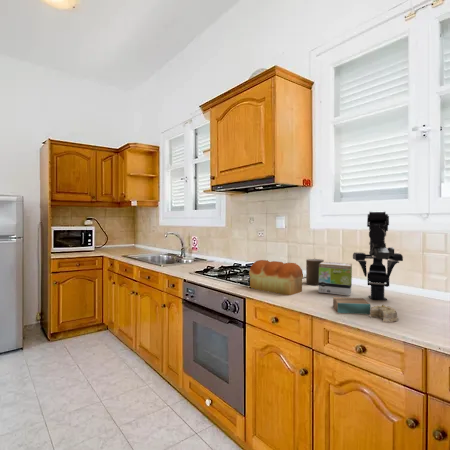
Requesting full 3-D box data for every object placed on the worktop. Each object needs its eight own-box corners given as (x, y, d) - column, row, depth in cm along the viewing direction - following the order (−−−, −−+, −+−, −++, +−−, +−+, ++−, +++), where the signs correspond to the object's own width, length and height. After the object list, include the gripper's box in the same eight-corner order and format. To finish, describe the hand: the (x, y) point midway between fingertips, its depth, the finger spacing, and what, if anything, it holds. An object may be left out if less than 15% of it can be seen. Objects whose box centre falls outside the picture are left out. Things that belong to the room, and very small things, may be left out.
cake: (379, 313, 125) (380, 299, 125) (404, 320, 116) (404, 305, 116) (362, 317, 120) (362, 302, 120) (387, 324, 111) (387, 309, 111)
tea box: (318, 293, 159) (318, 263, 159) (321, 289, 168) (321, 261, 168) (350, 296, 153) (350, 265, 153) (351, 292, 162) (352, 262, 162)
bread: (303, 291, 163) (303, 262, 163) (290, 296, 154) (290, 265, 153) (262, 285, 179) (262, 258, 179) (249, 288, 170) (249, 261, 170)
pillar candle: (319, 286, 177) (319, 258, 176) (303, 283, 183) (303, 257, 183) (326, 283, 184) (326, 257, 184) (310, 281, 190) (310, 256, 190)
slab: (333, 297, 135) (338, 303, 125) (363, 298, 133) (370, 304, 123) (333, 306, 135) (337, 313, 125) (363, 307, 133) (370, 314, 123)
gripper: (359, 241, 130) (359, 279, 130) (408, 241, 127) (408, 280, 128) (352, 239, 141) (352, 275, 141) (397, 240, 138) (397, 276, 139)
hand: (377, 276), depth 137 cm, fingers open, 9 cm apart
